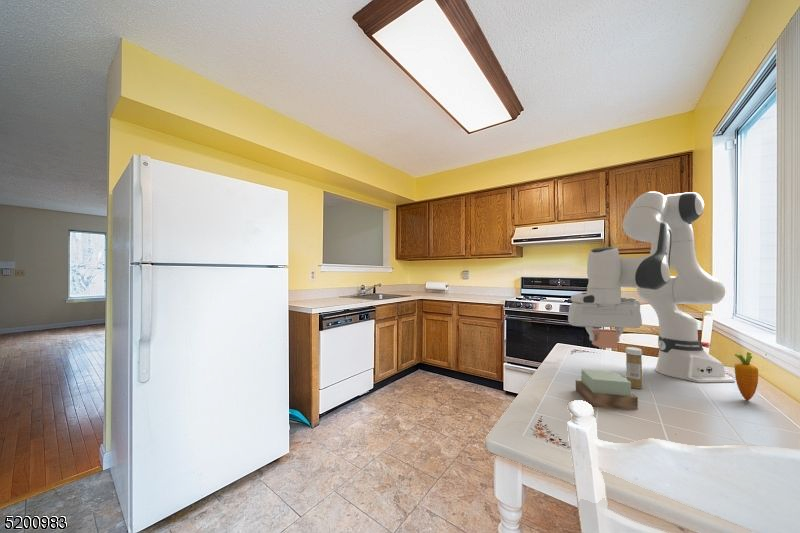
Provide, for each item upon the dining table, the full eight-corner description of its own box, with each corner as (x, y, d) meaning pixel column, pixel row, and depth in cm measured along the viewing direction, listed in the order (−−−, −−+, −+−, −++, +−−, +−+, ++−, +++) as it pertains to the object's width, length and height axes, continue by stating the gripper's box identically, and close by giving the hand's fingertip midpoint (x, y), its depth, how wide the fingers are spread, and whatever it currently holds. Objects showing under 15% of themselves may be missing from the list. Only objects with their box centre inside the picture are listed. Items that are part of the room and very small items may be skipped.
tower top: (615, 383, 96) (615, 371, 96) (631, 396, 87) (631, 382, 87) (581, 380, 99) (581, 369, 99) (593, 392, 89) (592, 379, 89)
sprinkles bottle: (644, 387, 102) (644, 348, 103) (639, 390, 100) (639, 350, 100) (629, 383, 106) (628, 346, 106) (623, 385, 104) (623, 347, 104)
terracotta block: (608, 344, 95) (608, 329, 95) (617, 348, 90) (617, 332, 90) (591, 343, 95) (591, 328, 96) (599, 347, 91) (599, 331, 91)
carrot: (742, 402, 90) (741, 353, 91) (730, 396, 95) (729, 349, 95) (764, 404, 89) (762, 355, 89) (751, 398, 93) (750, 351, 94)
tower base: (614, 394, 97) (614, 382, 97) (637, 411, 86) (637, 397, 86) (575, 392, 99) (575, 380, 99) (593, 408, 87) (593, 394, 87)
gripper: (633, 297, 95) (633, 340, 94) (565, 296, 98) (566, 337, 97) (646, 298, 89) (647, 344, 88) (574, 297, 91) (574, 341, 91)
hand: (604, 340), depth 93 cm, fingers closed on terracotta block, 5 cm apart
